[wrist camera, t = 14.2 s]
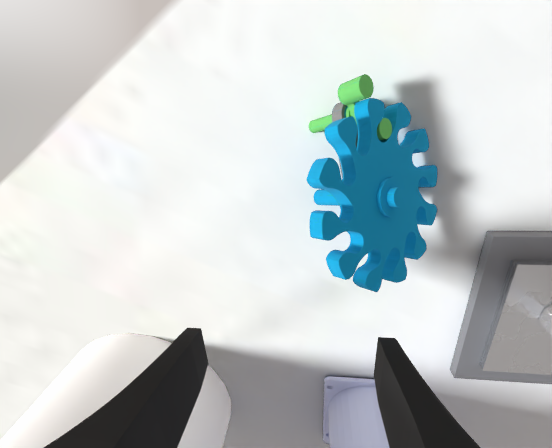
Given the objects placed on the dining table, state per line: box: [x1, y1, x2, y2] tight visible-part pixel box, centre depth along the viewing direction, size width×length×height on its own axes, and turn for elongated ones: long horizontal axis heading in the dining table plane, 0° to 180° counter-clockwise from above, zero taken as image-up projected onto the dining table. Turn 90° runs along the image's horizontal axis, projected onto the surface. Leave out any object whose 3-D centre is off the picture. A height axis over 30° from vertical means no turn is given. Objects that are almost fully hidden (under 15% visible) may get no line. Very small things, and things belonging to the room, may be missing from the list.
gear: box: [307, 74, 437, 292], centre depth 17 cm, size 11×6×10 cm
